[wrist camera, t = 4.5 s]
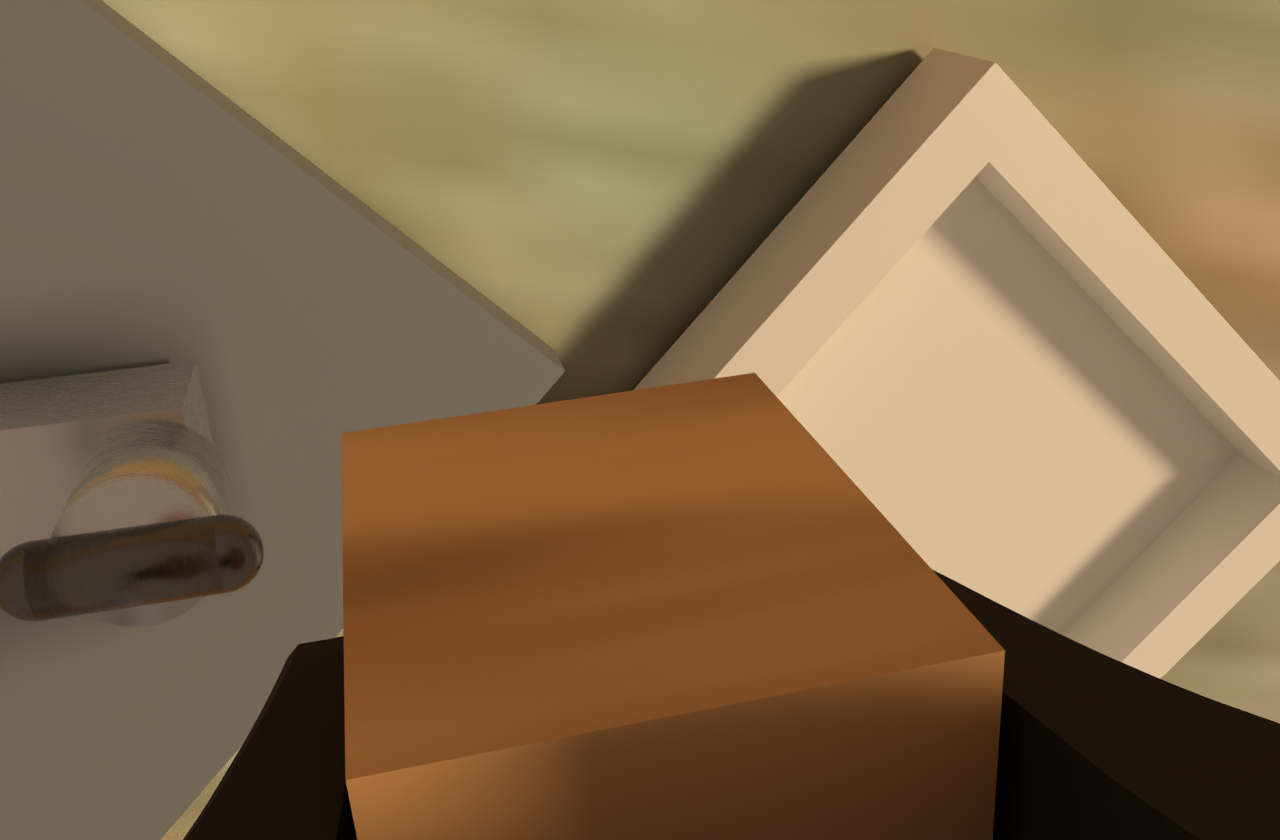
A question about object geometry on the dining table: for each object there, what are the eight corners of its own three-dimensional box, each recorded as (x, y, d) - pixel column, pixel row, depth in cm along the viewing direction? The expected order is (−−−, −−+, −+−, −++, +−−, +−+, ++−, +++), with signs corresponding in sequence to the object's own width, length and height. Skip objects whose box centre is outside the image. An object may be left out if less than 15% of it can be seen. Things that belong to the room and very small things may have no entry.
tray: (898, 825, 25) (940, 895, 24) (488, 554, 21) (502, 616, 19) (1286, 433, 24) (1364, 476, 22) (933, 47, 19) (995, 62, 17)
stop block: (764, 706, 14) (976, 1101, 9) (401, 778, 13) (437, 1243, 8) (754, 372, 12) (1005, 650, 8) (340, 432, 11) (345, 779, 7)
